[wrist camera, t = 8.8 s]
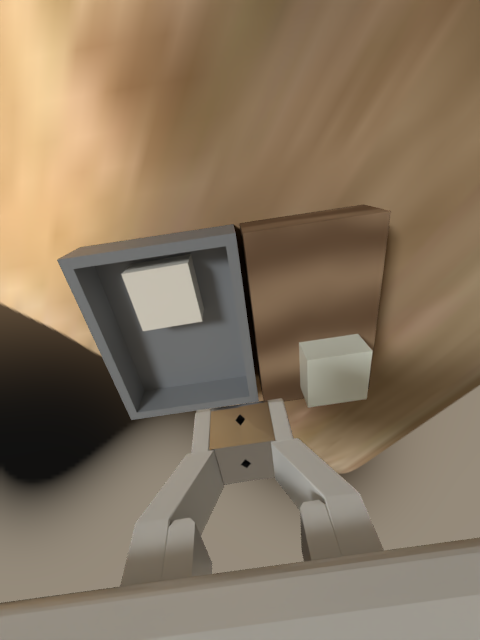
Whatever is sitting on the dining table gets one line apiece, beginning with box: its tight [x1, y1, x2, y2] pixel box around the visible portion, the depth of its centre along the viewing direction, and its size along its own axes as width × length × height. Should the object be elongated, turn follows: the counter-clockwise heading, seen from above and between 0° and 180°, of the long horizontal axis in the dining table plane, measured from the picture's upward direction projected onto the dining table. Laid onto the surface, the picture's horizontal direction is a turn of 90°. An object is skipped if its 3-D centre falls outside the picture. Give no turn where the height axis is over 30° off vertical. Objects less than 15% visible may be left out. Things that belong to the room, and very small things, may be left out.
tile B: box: [299, 334, 373, 408], centre depth 23 cm, size 5×5×2 cm
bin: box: [57, 224, 259, 420], centre depth 24 cm, size 16×12×4 cm
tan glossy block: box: [240, 205, 391, 401], centre depth 24 cm, size 16×10×4 cm, turn 8°
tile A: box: [121, 254, 204, 331], centre depth 23 cm, size 5×5×2 cm
